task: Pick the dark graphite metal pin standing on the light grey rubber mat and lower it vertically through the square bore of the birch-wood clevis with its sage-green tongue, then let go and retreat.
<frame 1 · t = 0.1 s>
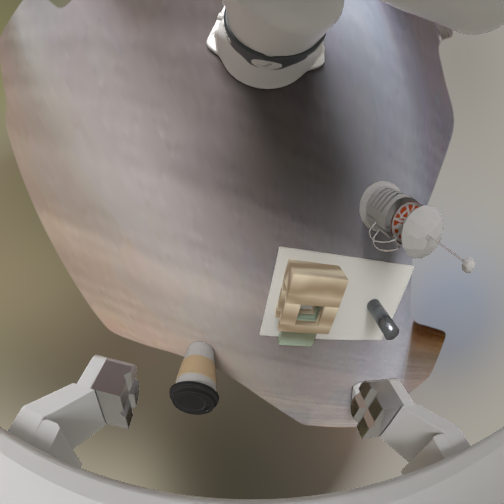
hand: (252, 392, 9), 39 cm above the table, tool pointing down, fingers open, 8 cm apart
french press: (378, 208, 47), on the table
mat: (339, 301, 54), on the table
white rounded slab: (358, 391, 69), on the table
coffee cup: (200, 349, 58), on the table
pin: (373, 304, 55), resting on mat
clevis: (303, 299, 53), resting on mat
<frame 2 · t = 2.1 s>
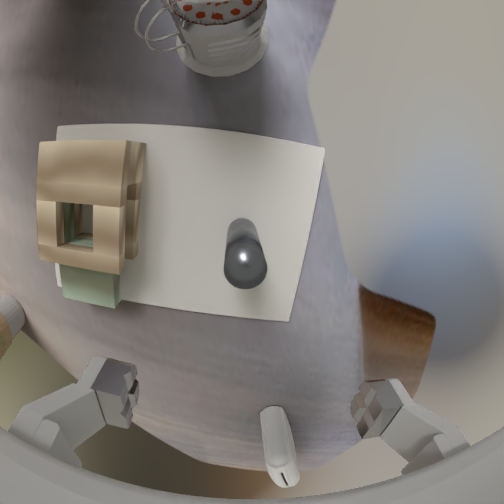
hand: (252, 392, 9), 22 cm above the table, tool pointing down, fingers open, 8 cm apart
french press: (214, 42, 22), on the table
mat: (166, 221, 28), on the table
white rounded slab: (276, 421, 40), on the table
coffee cup: (13, 309, 31), on the table
pin: (242, 232, 29), resting on mat
clevis: (98, 214, 27), resting on mat
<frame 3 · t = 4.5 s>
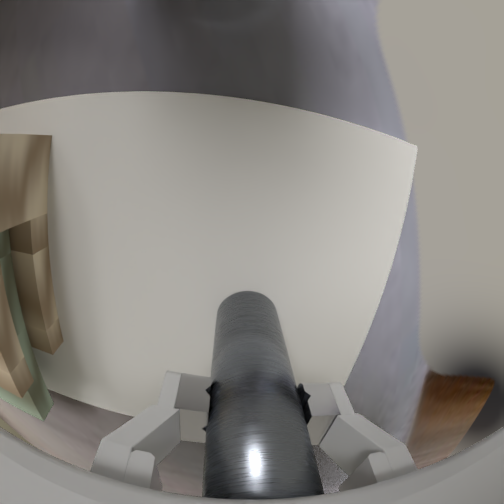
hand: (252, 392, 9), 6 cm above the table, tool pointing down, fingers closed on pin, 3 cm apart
mat: (99, 289, 13), on the table
pin: (246, 317, 13), resting on mat, touching gripper
clevis: (0, 269, 12), resting on mat
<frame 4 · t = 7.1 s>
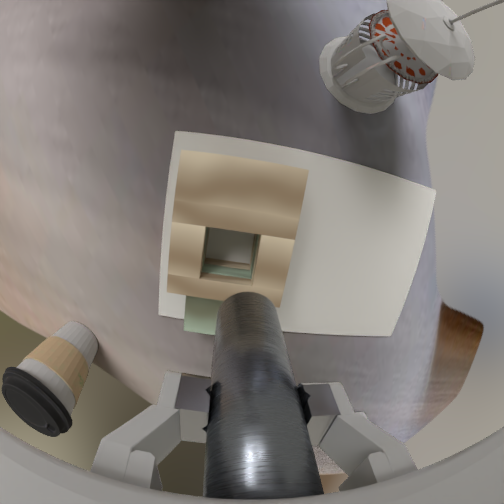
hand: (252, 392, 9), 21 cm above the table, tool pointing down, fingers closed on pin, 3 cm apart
french press: (354, 76, 24), on the table
mat: (306, 249, 29), on the table
coffee cup: (80, 337, 32), on the table
pin: (247, 318, 14), point 16 cm above the table, touching gripper
clevis: (230, 239, 28), resting on mat
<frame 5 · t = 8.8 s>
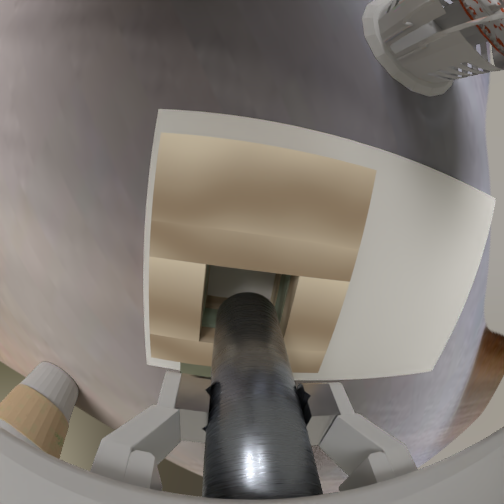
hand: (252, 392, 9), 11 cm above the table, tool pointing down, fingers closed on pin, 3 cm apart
french press: (406, 46, 15), on the table
mat: (347, 279, 20), on the table
coffee cup: (57, 379, 23), on the table
pin: (246, 318, 13), point 6 cm above the table, touching gripper
clevis: (243, 270, 19), resting on mat
when the fingers open (7 cm above the table, at t = 9.9 s): pin drops 1 cm, resting on mat.
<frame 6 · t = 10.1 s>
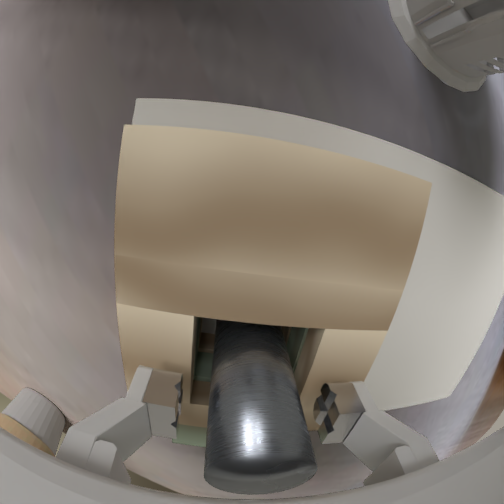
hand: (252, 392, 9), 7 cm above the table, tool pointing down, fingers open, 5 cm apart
french press: (437, 33, 11), on the table
mat: (370, 310, 16), on the table
coffee cup: (42, 406, 19), on the table
pin: (246, 303, 15), resting on mat
clevis: (245, 303, 15), resting on mat
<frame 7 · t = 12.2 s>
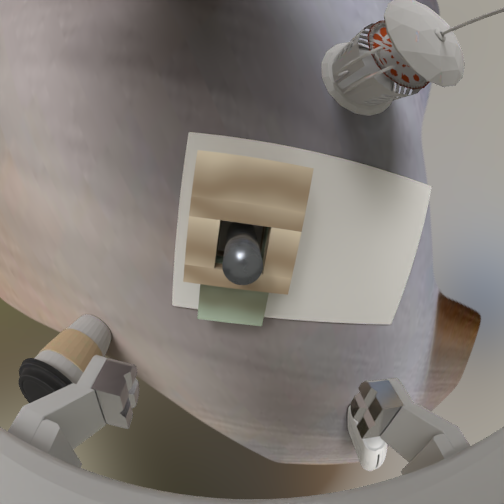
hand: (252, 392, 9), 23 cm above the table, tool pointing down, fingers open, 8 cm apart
french press: (354, 80, 26), on the table
mat: (310, 242, 31), on the table
white rounded slab: (356, 414, 43), on the table
coffee cup: (94, 330, 34), on the table
pin: (241, 233, 30), point 1 cm above the table, touching mat
clevis: (241, 233, 30), resting on mat
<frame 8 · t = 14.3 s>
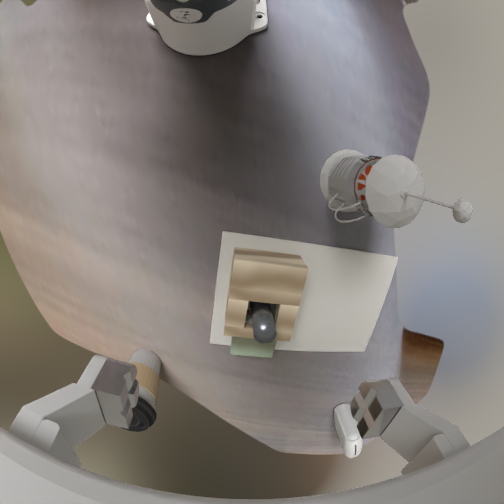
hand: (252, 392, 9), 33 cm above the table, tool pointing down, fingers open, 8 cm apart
french press: (344, 183, 40), on the table
mat: (306, 301, 45), on the table
white rounded slab: (341, 414, 57), on the table
coffee cup: (146, 359, 48), on the table
pin: (259, 298, 44), point 1 cm above the table, touching mat
clevis: (258, 298, 44), resting on mat
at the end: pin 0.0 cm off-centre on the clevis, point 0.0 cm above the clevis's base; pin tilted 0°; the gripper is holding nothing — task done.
